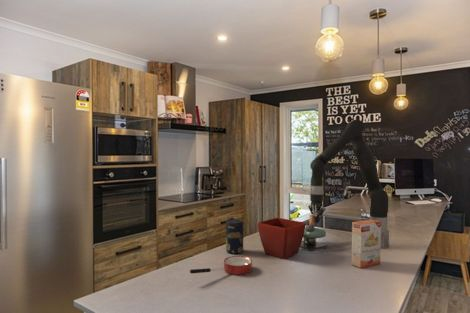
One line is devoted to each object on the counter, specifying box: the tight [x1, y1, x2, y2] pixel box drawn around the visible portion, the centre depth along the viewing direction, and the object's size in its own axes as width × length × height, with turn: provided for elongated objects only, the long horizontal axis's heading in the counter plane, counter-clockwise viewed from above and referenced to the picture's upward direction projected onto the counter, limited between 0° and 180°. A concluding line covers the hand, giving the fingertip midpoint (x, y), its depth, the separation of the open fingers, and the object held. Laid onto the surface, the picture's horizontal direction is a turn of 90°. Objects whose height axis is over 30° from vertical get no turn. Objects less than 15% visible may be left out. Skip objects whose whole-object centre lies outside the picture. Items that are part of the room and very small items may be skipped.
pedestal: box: [299, 237, 328, 252], centre depth 179 cm, size 14×14×7 cm
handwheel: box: [303, 214, 327, 239], centre depth 180 cm, size 20×18×9 cm
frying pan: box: [189, 255, 253, 276], centre depth 136 cm, size 32×13×6 cm, turn 136°
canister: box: [225, 218, 244, 254], centre depth 168 cm, size 10×10×18 cm
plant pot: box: [257, 217, 307, 260], centre depth 165 cm, size 19×19×17 cm
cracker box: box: [351, 219, 382, 269], centre depth 149 cm, size 14×6×21 cm, turn 117°
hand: (316, 222), depth 183 cm, fingers closed
